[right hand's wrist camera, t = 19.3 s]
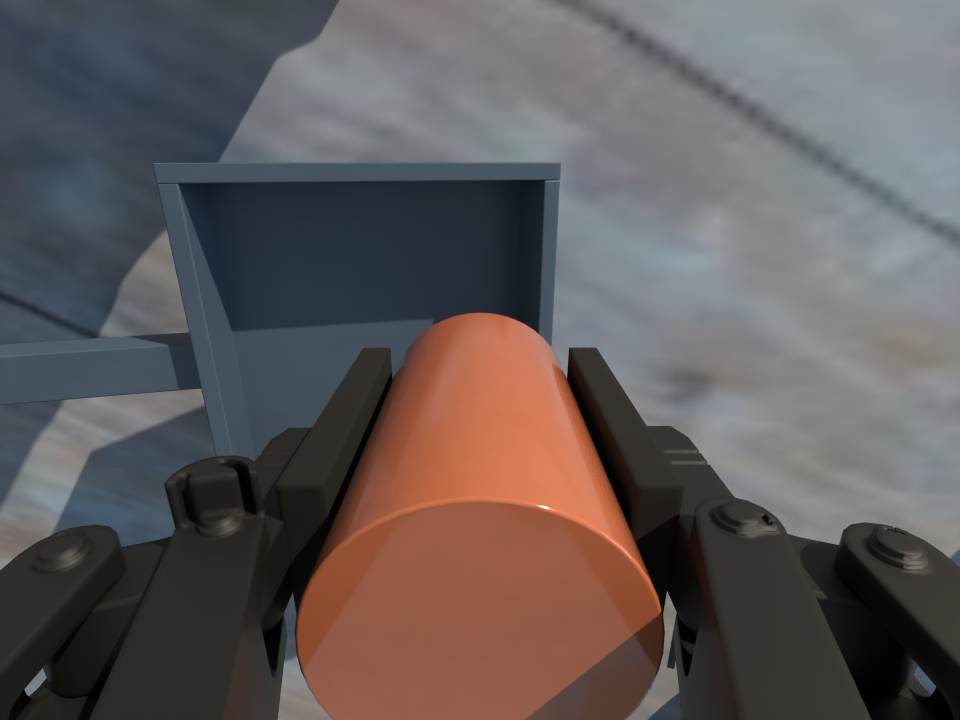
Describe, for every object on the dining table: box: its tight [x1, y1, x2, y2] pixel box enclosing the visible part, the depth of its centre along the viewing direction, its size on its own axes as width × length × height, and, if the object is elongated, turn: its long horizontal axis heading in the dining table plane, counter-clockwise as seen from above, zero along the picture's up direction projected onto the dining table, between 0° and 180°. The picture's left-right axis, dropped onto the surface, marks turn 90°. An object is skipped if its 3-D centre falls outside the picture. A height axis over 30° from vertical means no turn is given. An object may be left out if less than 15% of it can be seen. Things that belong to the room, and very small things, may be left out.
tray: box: [0, 162, 561, 461], centre depth 24 cm, size 19×32×10 cm, turn 90°
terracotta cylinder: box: [295, 313, 665, 720], centre depth 11 cm, size 5×5×8 cm
